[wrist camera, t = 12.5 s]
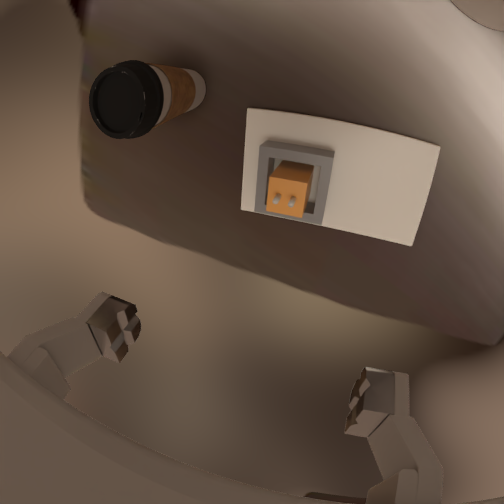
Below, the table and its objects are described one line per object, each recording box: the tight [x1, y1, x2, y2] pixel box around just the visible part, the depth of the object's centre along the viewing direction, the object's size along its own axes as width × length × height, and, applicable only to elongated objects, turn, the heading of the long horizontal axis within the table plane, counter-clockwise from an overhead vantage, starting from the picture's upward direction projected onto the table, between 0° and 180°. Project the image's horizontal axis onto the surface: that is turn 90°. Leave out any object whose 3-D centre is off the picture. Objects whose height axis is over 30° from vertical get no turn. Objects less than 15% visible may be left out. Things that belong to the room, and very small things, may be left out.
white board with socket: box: [241, 108, 440, 246], centre depth 35 cm, size 14×24×4 cm, turn 86°
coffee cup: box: [89, 60, 206, 139], centre depth 31 cm, size 8×8×15 cm
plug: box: [266, 160, 314, 218], centre depth 35 cm, size 4×4×9 cm
